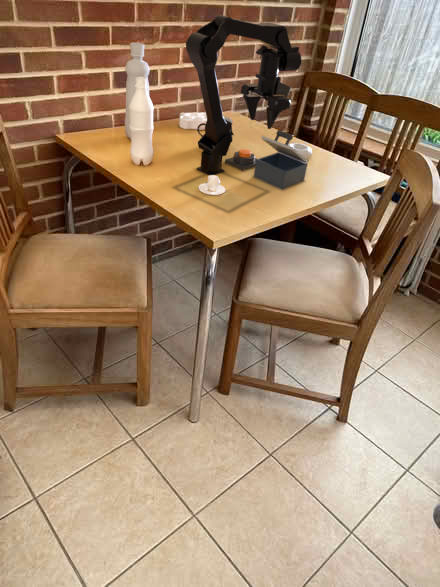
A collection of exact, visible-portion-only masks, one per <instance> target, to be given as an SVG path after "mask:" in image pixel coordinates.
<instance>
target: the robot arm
mask: <svg viewBox="0 0 440 587" xmlns="http://www.w3.org/2000/svg"><path fill="white" fill-rule="evenodd" d="M230 35H231V36H232V35H233V36H237V37H242V38H247V39H252V40H256V41H258V42H259V43H261V44H263V45H261V47H260V48H258V49H257V50H256V51H255V54H256V55H259V56H261V57H260V63H259V71H258V73H255V78H257V83H243V85H242V86H241V88H240V94H241V95H242V98H243V99H244V102H245V104H246V107H247V111H248V114H249V118H250V120H251V121H254V120H255V118H256V115H257V109H258V104H259V102H260V101H261V99H262V100H265V101H267V103H266V104H267V106H266V107H265V110H266V111H265V112H266V127H267V129H268V130H271V129H272V128H273V126H274V124H275V122H276V120H277V119H278V117H279V115H280V113H282V112H284V111H286V110H289V109H290V107H291V103H292V101H291V99H290V98H288V97H289V94H290V92H291V89H292V87H291V86H289V85H287V84H285V83H282V82H281V81H282V78H281V76H279V72H292V71H293V72H294V71H295V72H296V71H298V70H299V69H300V68H301V65H302V61H303V60H302V55H301V53H300V51H299V50H300V47H299V46H297V45H291V41H290V38H289V33H288V28H287V27H286V26H284V25H281V24H277V23H274V22H269V21H268V22H267V21H266V22H260V23H259V22H258V23H255V22H249V21H245V20H240V19H236V18H233V17H231V16H227V15H224V14H219V15H217V16H215V17H214V18H213V19H212V20H211V21H210V22H208V23H206V24H204V25H203V26H201V27H199V28H198V29H197V30H196V31H195V32H192V33H191V34H189V36H188V37H187V40H186V41H185V49H186V50H185V51H186V52H187V55H188V58H189V60H190V62H191V63H192V65H193V67H194V68H195V70H196V73H197V78H198V81H199V87H200V91H201V95H202V101H203V106H204V110H205V111H204V112H206V116H207V122H206V125H205V129H204V134H202V135H203V136H200V138H199V140H197V146H198V149H200V150H202V151H201V158H200V166H198V167H196V170H197V171H199V172H201V173H203V174H205V175H207V176H210V175H215V176H217V175H219V174H223V173H224V172H225V169H223V168H222V166H223V157H226V156H227V153H228V151H229V148H230V146H231V144H232V142H233V136H235V134H234V132H233V123H232V124H231V122H229V121H227V120H225V119H224V118H223V116H224V114H223V109H222V104H221V97H220V93H219V86H218V80H217V75H216V66H217V63H218V52H219V51H220V50H221V49H222V48H223V47H224V45H225V43H226V40H227V39H228V37H229V36H230ZM213 145H214V146H215V147H214V146H213Z"/></svg>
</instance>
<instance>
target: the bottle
mask: <svg viewBox="0 0 440 587" xmlns="http://www.w3.org/2000/svg"><path fill="white" fill-rule="evenodd" d="M145 47H146V46H145V43H142V42H130V43H129V48H130V54H129V55H130V56H131V57H132V59H129V60H128V61H126V65H125V66H124V70H125V73H126V75H127V77H126V82H125V84H126V85H125V117H124V135H125V136H126V137H127V138H128V139H130V140H131V131H130V109H129V106H130V102H131V100H132V98H133V96H134V94H135V91H136V87H135V85H136V77H145V78H147V86H148V88H147V92H148V95H149V96H150V82H149V75H150V71H151V69H150V66H149V63H148V62H146V60H145V61H144V60H143V58H144V57H145Z"/></svg>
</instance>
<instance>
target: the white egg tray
mask: <svg viewBox="0 0 440 587" xmlns="http://www.w3.org/2000/svg"><path fill="white" fill-rule="evenodd" d="M206 122H207V116H206V111H204V112H203V111H202V112H196V111H193V112H180V113H179V124H178V126H179V128H181V129H185V130H196V131H197V128H198V126H199V125H200V124H202V123H205V124H206ZM202 130H205V125H202V126H200V127H199V131H202Z"/></svg>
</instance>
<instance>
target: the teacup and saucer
mask: <svg viewBox="0 0 440 587" xmlns="http://www.w3.org/2000/svg"><path fill="white" fill-rule="evenodd" d="M219 178H220V177H219V176H218V175H207V182H204V183H201V184H199V185H198V188H197V189H198V190H199V191H200V192H201V193H203V194H205V195H209V196H217V195H222V194H224V193H225V192H226V188H225V187H224V186H223V185H222V184H221V180H220V179H219Z"/></svg>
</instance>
